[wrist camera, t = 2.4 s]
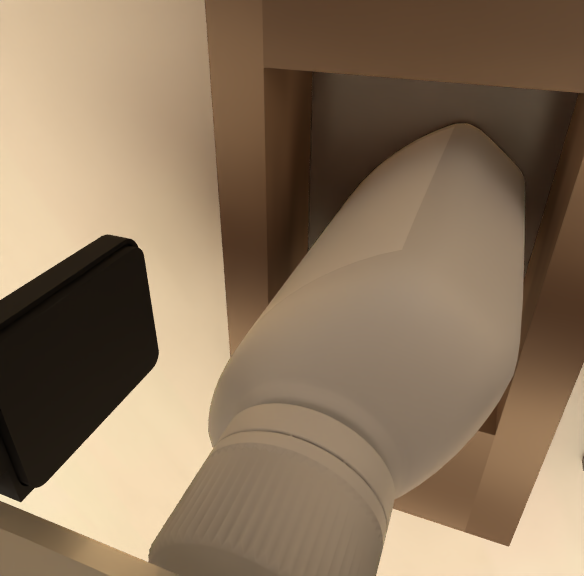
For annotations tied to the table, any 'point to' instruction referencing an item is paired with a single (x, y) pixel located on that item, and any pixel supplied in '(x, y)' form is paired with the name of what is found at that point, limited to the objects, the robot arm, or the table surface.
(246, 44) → the frame
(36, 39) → the table surface
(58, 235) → the table surface
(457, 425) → the eye dropper bottle
